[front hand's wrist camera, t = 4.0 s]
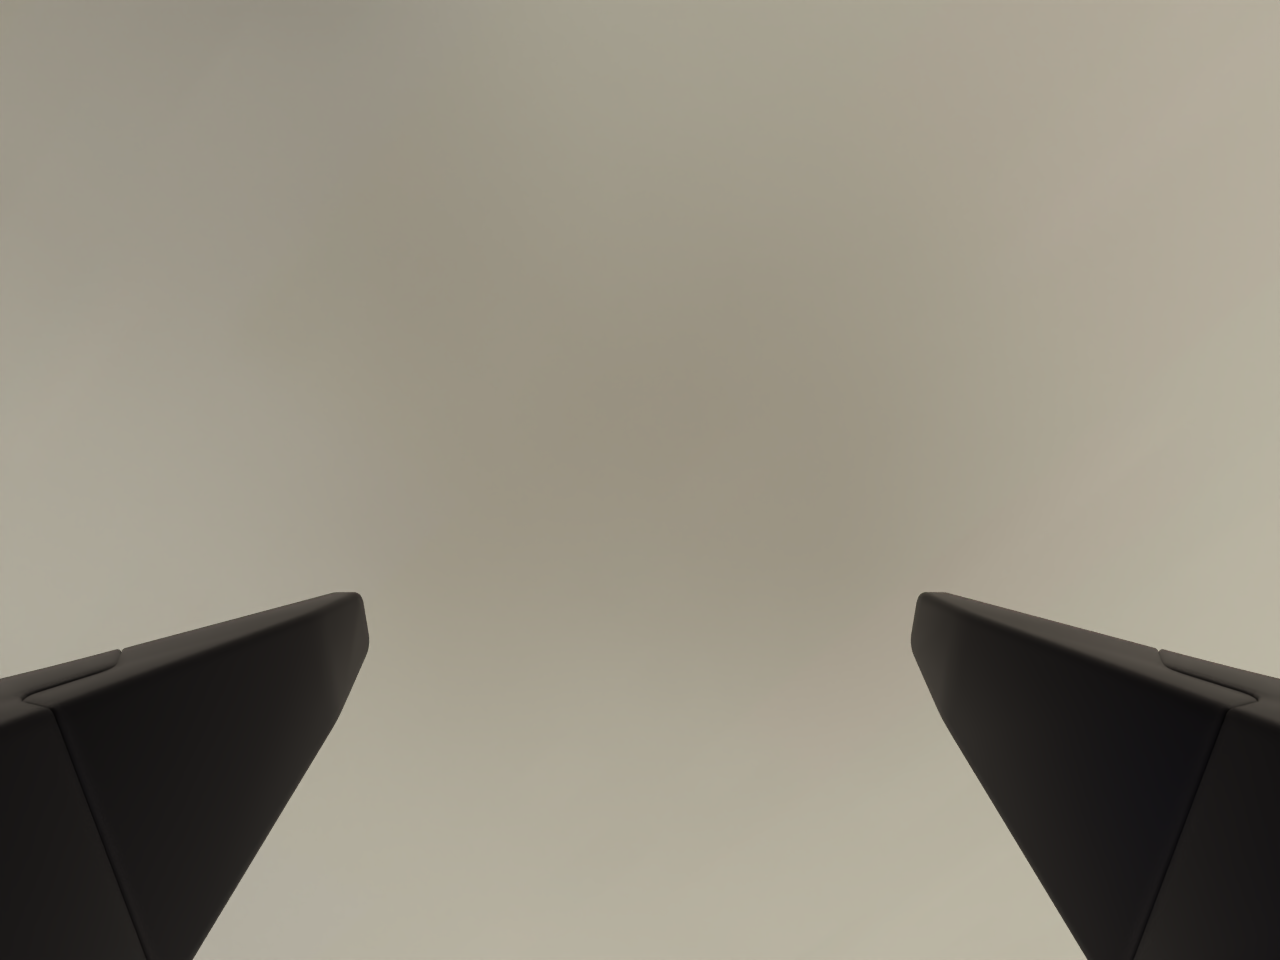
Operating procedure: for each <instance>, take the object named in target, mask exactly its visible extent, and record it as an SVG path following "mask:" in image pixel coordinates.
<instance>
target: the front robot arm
mask: <svg viewBox="0 0 1280 960" xmlns="http://www.w3.org/2000/svg"><path fill="white" fill-rule="evenodd" d="M368 647H369V633H368V627H367V621H366V615H365V609H364V603H363V600H362V597H361V596H360V594H358V593H356V592H336V593H330V594H327V595H323V596H319V597H315V598H312V599H308V600H304V601H300V602H297V603H293V604H289V605H285V606H281V607H278V608H274V609H270V610H266V611H263V612H259V613H255V614H251V615H248V616H244V617H240V618H236V619H233V620H229V621H225V622H221V623H218V624H214V625H210V626H206V627H203V628H199V629H195V630H191V631H188V632H184V633H180V634H176V635H172V636H169V637H165V638H161V639H157V640H154V641H150V642H146V643H142V644H139V645H135V646H131V647H127V648H124V649H123V650H122V652H121V651H120V650H119V649H116V650H113V651H109V652H105V653H101V654H97V655H94V656H90V657H86V658H82V659H78V660H74V661H70V662H66V663H62V664H59V665H55V666H51V667H47V668H43V669H39V670H34V671H30V672H26V673H22V674H18V675H14V676H10V677H6V678H2V679H0V960H193V958H194V956H195V955H196V953H197V951H198V950H199V948H200V946H201V945H202V943H203V942H204V940H205V938H206V937H207V935H208V933H209V932H210V930H211V928H212V927H213V925H214V923H215V922H216V920H217V918H218V917H219V915H220V913H221V912H222V910H223V908H224V907H225V905H226V903H227V902H228V900H229V899H230V897H231V895H232V894H233V892H234V890H235V889H236V887H237V885H238V884H239V882H240V880H241V879H242V877H243V875H244V874H245V872H246V870H247V869H248V867H249V865H250V864H251V862H252V860H253V859H254V857H255V856H256V854H257V852H258V851H259V849H260V847H261V846H262V844H263V842H264V841H265V839H266V837H267V836H268V834H269V832H270V831H271V829H272V827H273V826H274V824H275V822H276V821H277V819H278V817H279V816H280V814H281V813H282V811H283V809H284V808H285V806H286V804H287V803H288V801H289V799H290V798H291V796H292V794H293V793H294V791H295V789H296V788H297V786H298V784H299V783H300V781H301V779H302V778H303V776H304V774H305V773H306V771H307V770H308V768H309V766H310V765H311V763H312V761H313V760H314V758H315V756H316V755H317V753H318V751H319V750H320V748H321V746H322V745H323V743H324V741H325V740H326V738H327V736H328V735H329V733H330V731H331V730H332V728H333V726H334V724H335V723H336V721H337V719H338V717H339V715H340V713H341V711H342V709H343V707H344V705H345V702H346V700H347V698H348V695H349V693H350V691H351V689H352V686H353V684H354V682H355V680H356V677H357V675H358V673H359V670H360V668H361V666H362V664H363V661H364V659H365V657H366V654H367V652H368ZM911 647H912V652H913V654H914V657H915V659H916V661H917V664H918V666H919V668H920V670H921V673H922V675H923V677H924V680H925V682H926V684H927V686H928V689H929V691H930V693H931V695H932V698H933V700H934V702H935V705H936V707H937V709H938V711H939V713H940V715H941V717H942V719H943V721H944V723H945V724H946V726H947V728H948V730H949V731H950V733H951V735H952V736H953V738H954V740H955V741H956V743H957V745H958V746H959V748H960V750H961V751H962V753H963V755H964V756H965V758H966V760H967V761H968V763H969V765H970V766H971V768H972V770H973V771H974V773H975V774H976V776H977V778H978V779H979V781H980V783H981V784H982V786H983V788H984V789H985V791H986V793H987V794H988V796H989V798H990V799H991V801H992V803H993V804H994V806H995V808H996V809H997V811H998V813H999V814H1000V816H1001V817H1002V819H1003V821H1004V822H1005V824H1006V826H1007V827H1008V829H1009V831H1010V832H1011V834H1012V836H1013V837H1014V839H1015V841H1016V842H1017V844H1018V846H1019V847H1020V849H1021V851H1022V852H1023V854H1024V856H1025V857H1026V859H1027V860H1028V862H1029V864H1030V865H1031V867H1032V869H1033V870H1034V872H1035V874H1036V875H1037V877H1038V879H1039V880H1040V882H1041V884H1042V885H1043V887H1044V889H1045V890H1046V892H1047V894H1048V895H1049V897H1050V899H1051V900H1052V902H1053V903H1054V905H1055V907H1056V908H1057V910H1058V912H1059V913H1060V915H1061V917H1062V918H1063V920H1064V922H1065V923H1066V925H1067V927H1068V928H1069V930H1070V932H1071V933H1072V935H1073V937H1074V938H1075V940H1076V942H1077V943H1078V945H1079V946H1080V948H1081V950H1082V951H1083V953H1084V955H1085V956H1086V958H1087V960H1280V679H1278V678H1274V677H1270V676H1266V675H1262V674H1258V673H1254V672H1250V671H1246V670H1241V669H1237V668H1233V667H1229V666H1225V665H1221V664H1218V663H1214V662H1210V661H1206V660H1202V659H1198V658H1194V657H1190V656H1186V655H1183V654H1179V653H1175V652H1171V651H1167V650H1164V649H1161V650H1160V651H1159V652H1158V650H1157V649H1156V648H1153V647H1149V646H1145V645H1141V644H1138V643H1134V642H1130V641H1126V640H1123V639H1119V638H1115V637H1111V636H1108V635H1104V634H1100V633H1096V632H1093V631H1089V630H1085V629H1081V628H1077V627H1074V626H1070V625H1066V624H1062V623H1059V622H1055V621H1051V620H1047V619H1044V618H1040V617H1036V616H1032V615H1029V614H1025V613H1021V612H1017V611H1014V610H1010V609H1006V608H1002V607H999V606H995V605H991V604H987V603H983V602H980V601H976V600H972V599H968V598H965V597H961V596H957V595H953V594H950V593H944V592H924V593H922V594H920V596H919V597H918V600H917V603H916V609H915V615H914V621H913V627H912V633H911Z"/></svg>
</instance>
